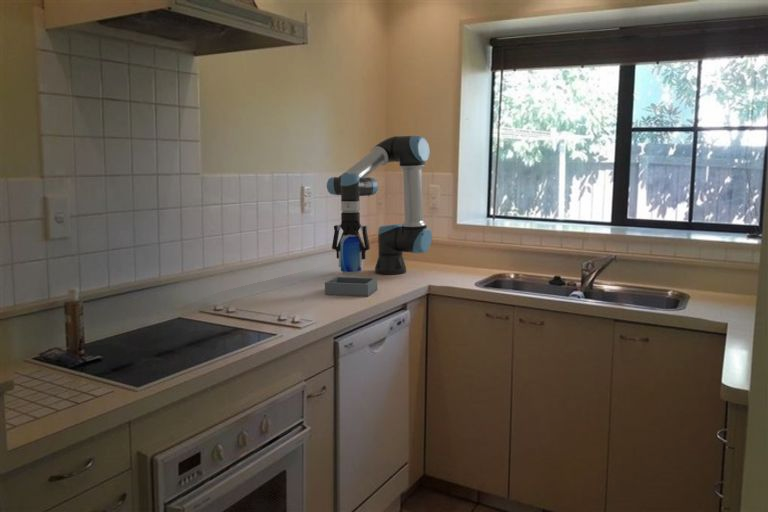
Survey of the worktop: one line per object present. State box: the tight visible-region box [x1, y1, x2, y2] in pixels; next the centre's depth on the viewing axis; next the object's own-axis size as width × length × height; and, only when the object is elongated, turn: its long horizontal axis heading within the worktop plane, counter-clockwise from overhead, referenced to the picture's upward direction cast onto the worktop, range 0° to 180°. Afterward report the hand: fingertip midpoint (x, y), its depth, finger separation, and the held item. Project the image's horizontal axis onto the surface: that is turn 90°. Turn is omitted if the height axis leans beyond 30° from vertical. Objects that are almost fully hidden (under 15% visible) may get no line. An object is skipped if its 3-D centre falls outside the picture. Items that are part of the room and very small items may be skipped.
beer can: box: [339, 234, 362, 276], centre depth 270 cm, size 8×8×16 cm
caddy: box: [324, 276, 378, 298], centre depth 272 cm, size 14×18×5 cm
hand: (351, 266), depth 271 cm, fingers closed on beer can, 8 cm apart
